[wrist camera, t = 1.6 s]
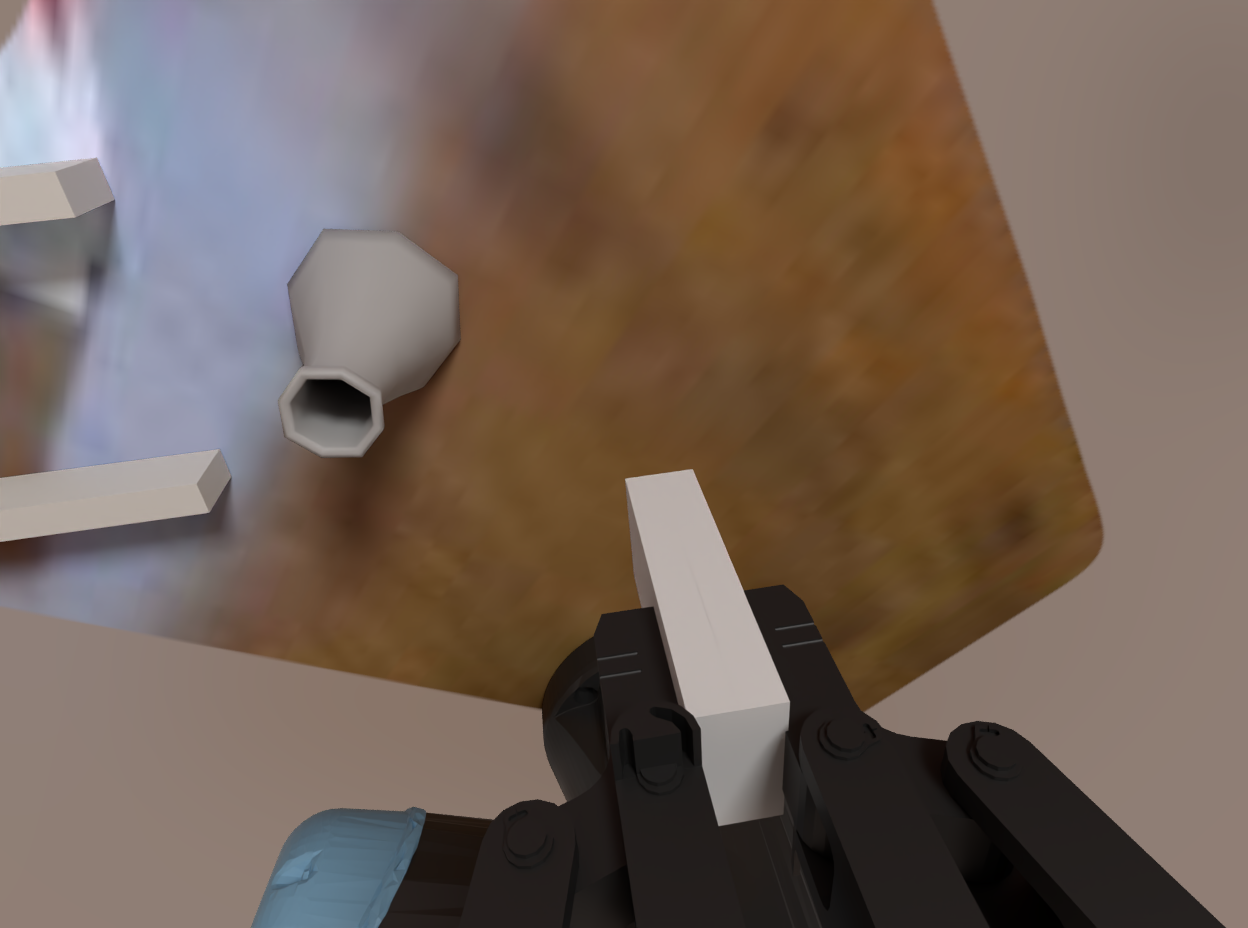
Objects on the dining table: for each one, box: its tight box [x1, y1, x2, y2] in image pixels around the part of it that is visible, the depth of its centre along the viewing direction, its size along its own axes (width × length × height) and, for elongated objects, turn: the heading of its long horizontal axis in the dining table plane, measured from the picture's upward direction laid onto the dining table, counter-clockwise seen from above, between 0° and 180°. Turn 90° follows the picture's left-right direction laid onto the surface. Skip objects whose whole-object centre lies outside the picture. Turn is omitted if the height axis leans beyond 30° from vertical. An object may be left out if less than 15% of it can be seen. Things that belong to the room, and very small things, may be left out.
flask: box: [278, 229, 461, 458], centre depth 27 cm, size 7×7×10 cm
